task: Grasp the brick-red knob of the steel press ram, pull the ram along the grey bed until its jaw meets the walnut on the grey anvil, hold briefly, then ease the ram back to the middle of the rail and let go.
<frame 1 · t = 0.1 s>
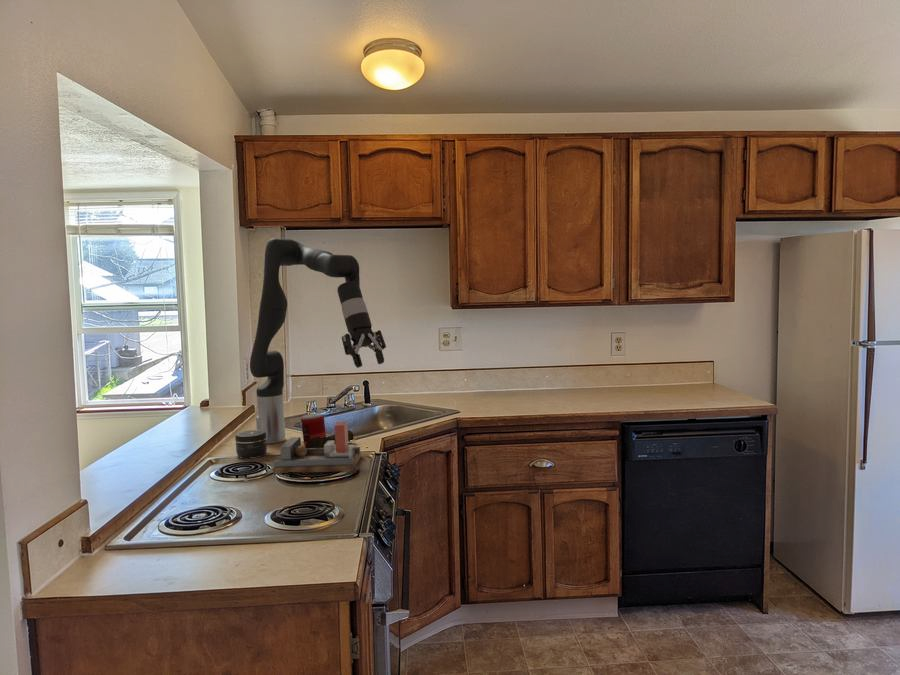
hand: (370, 365, 183), 31 cm above the counter, tool tilted 20°, fingers open, 8 cm apart
rails and anvil: (318, 450, 189), on the press bed, point 4 cm above the counter
ram: (338, 441, 188), point 7 cm above the counter, slide at 0.0 cm
jar: (252, 455, 203), on the counter
press bed: (318, 464, 189), on the counter
canned food: (315, 446, 211), on the counter, touching hand tool
hand tool: (329, 447, 209), on the counter, touching canned food
walnut: (300, 451, 189), point 4 cm above the counter
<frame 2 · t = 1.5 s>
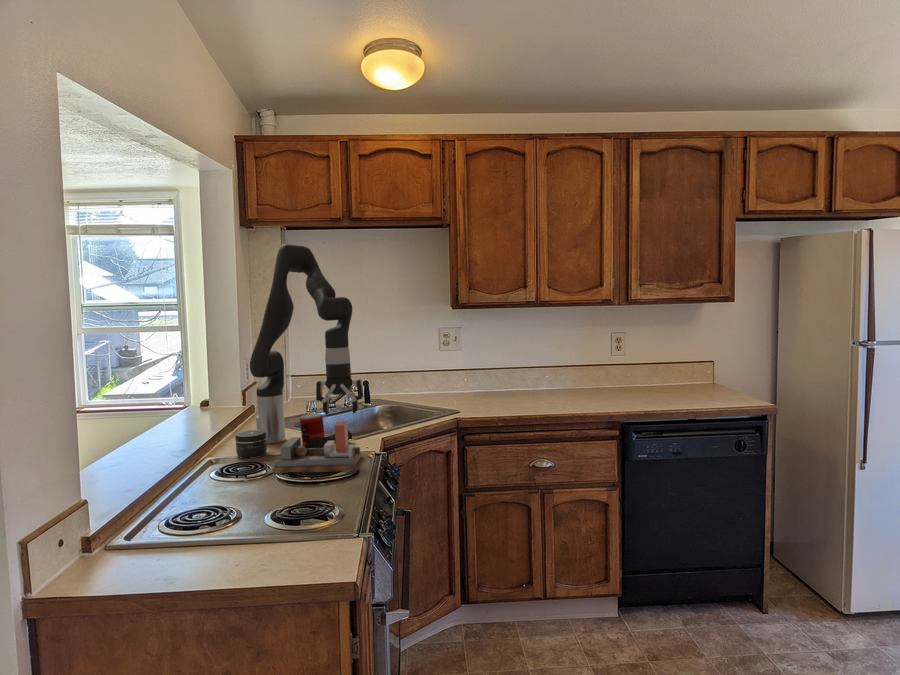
hand: (340, 413, 188), 16 cm above the counter, tool pointing down, fingers open, 8 cm apart
canned food: (314, 446, 212), on the counter, touching hand tool
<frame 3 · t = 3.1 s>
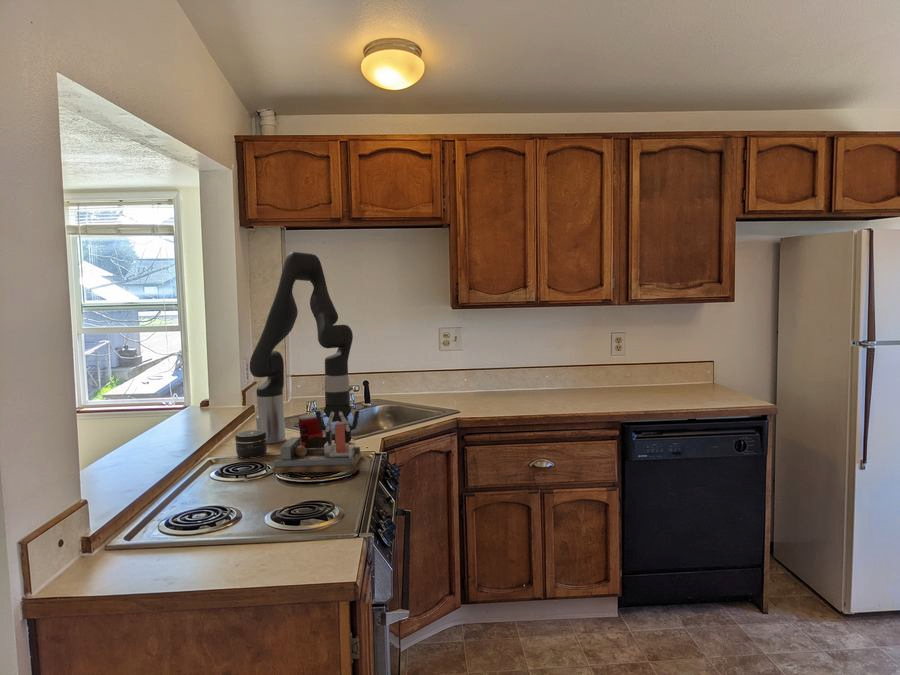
hand: (338, 442, 188), 7 cm above the counter, tool pointing down, fingers closed on ram, 5 cm apart
ram: (338, 441, 188), point 7 cm above the counter, slide at -0.1 cm, touching gripper
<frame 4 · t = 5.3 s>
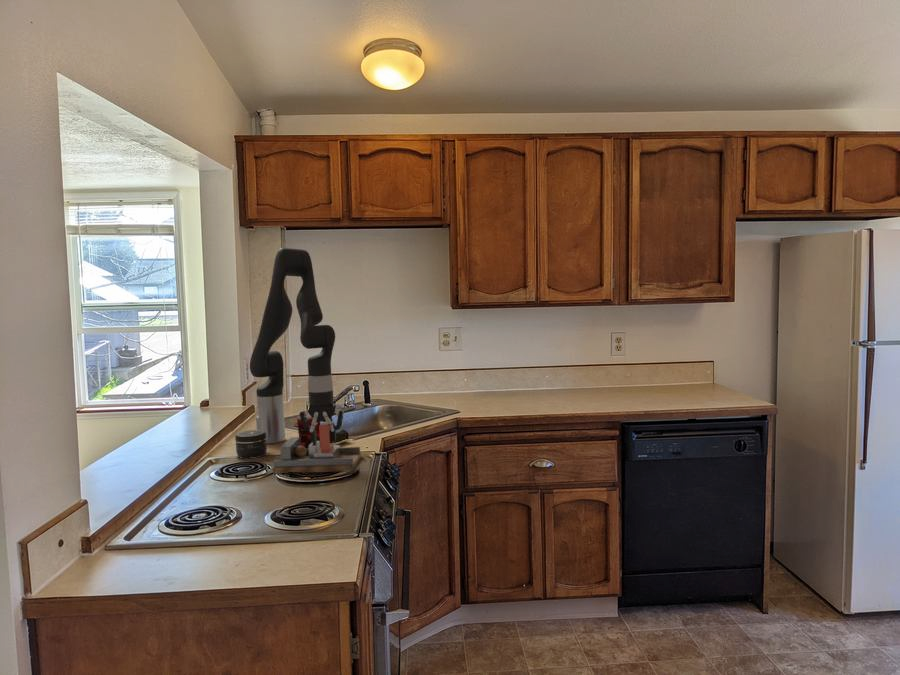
hand: (323, 442, 188), 7 cm above the counter, tool pointing down, fingers closed on ram, 5 cm apart
ram: (323, 441, 188), point 7 cm above the counter, slide at 4.8 cm, touching gripper
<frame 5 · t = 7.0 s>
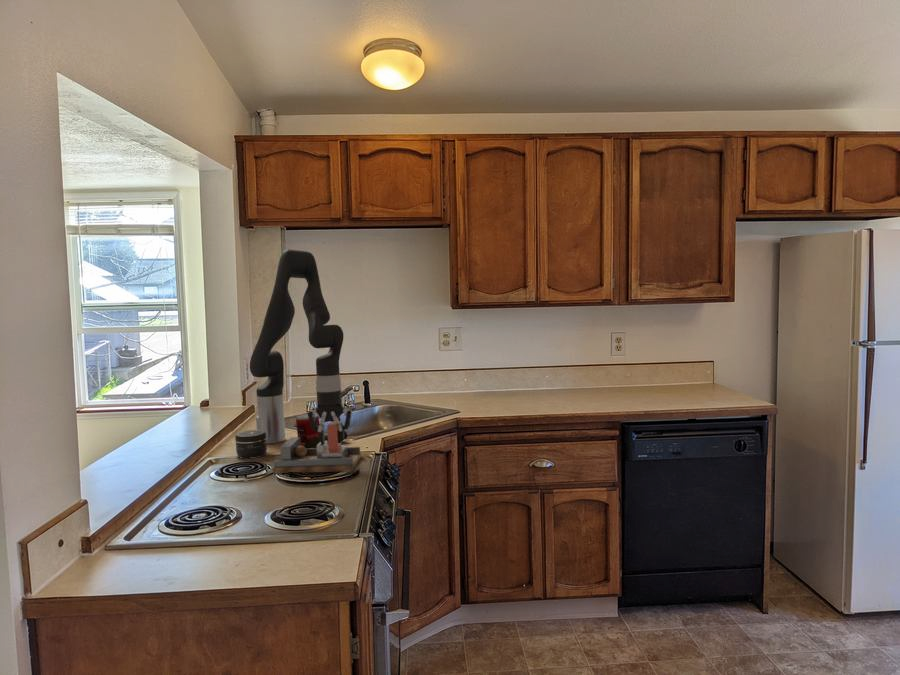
hand: (331, 442, 188), 7 cm above the counter, tool pointing down, fingers closed on ram, 5 cm apart
ram: (331, 441, 188), point 7 cm above the counter, slide at 2.3 cm, touching gripper
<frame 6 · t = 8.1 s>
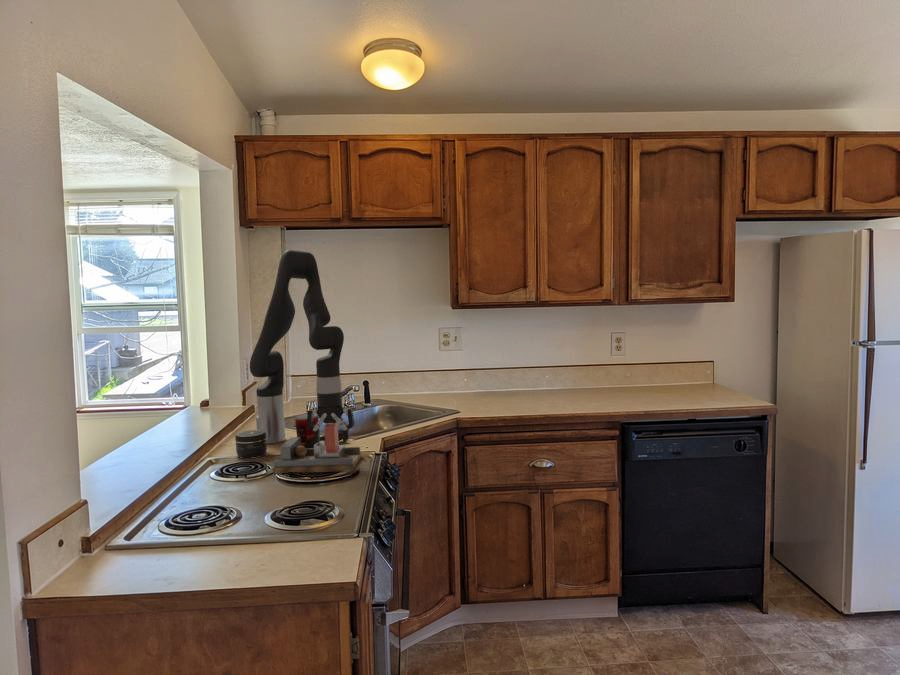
hand: (331, 441, 188), 7 cm above the counter, tool pointing down, fingers open, 8 cm apart
ram: (328, 441, 188), point 7 cm above the counter, slide at 3.1 cm
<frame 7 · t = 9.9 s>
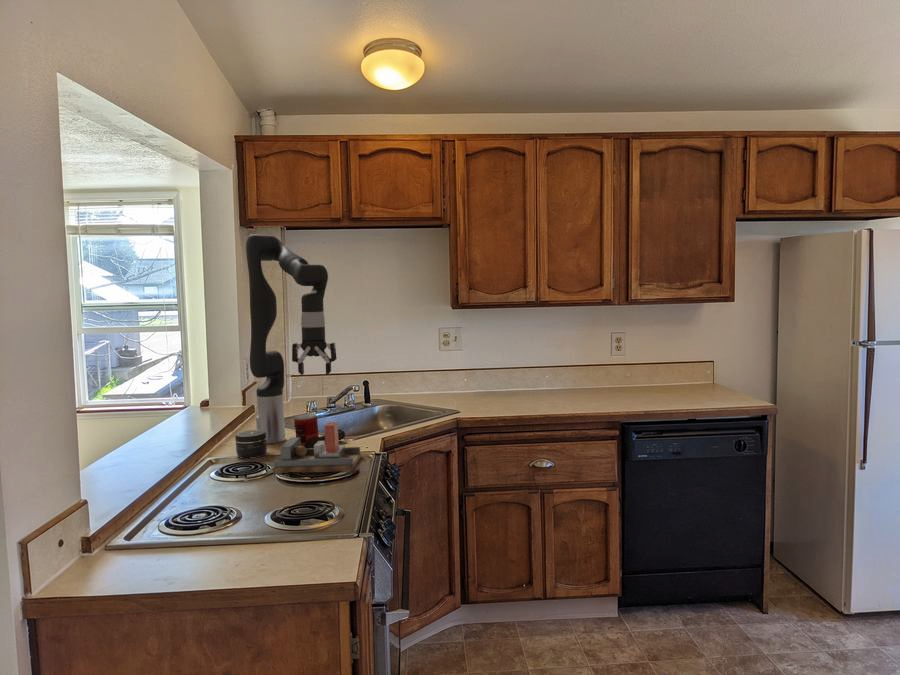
hand: (314, 374, 199), 27 cm above the counter, tool pointing down, fingers open, 8 cm apart
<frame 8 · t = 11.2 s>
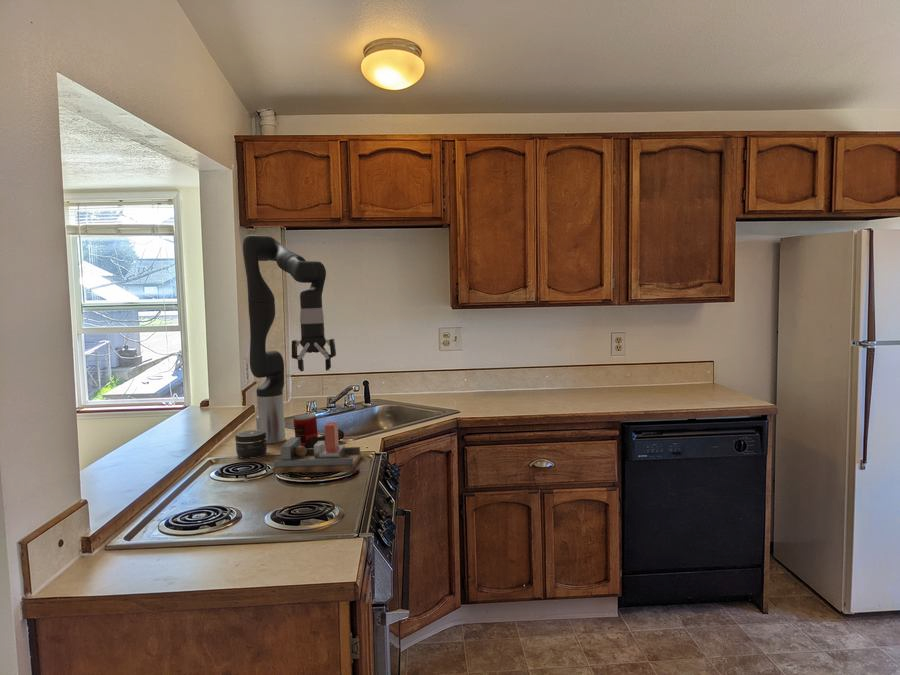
hand: (314, 370, 200), 28 cm above the counter, tool pointing down, fingers open, 8 cm apart
at the end: ram slide at 3.1 cm; the gripper is holding nothing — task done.
